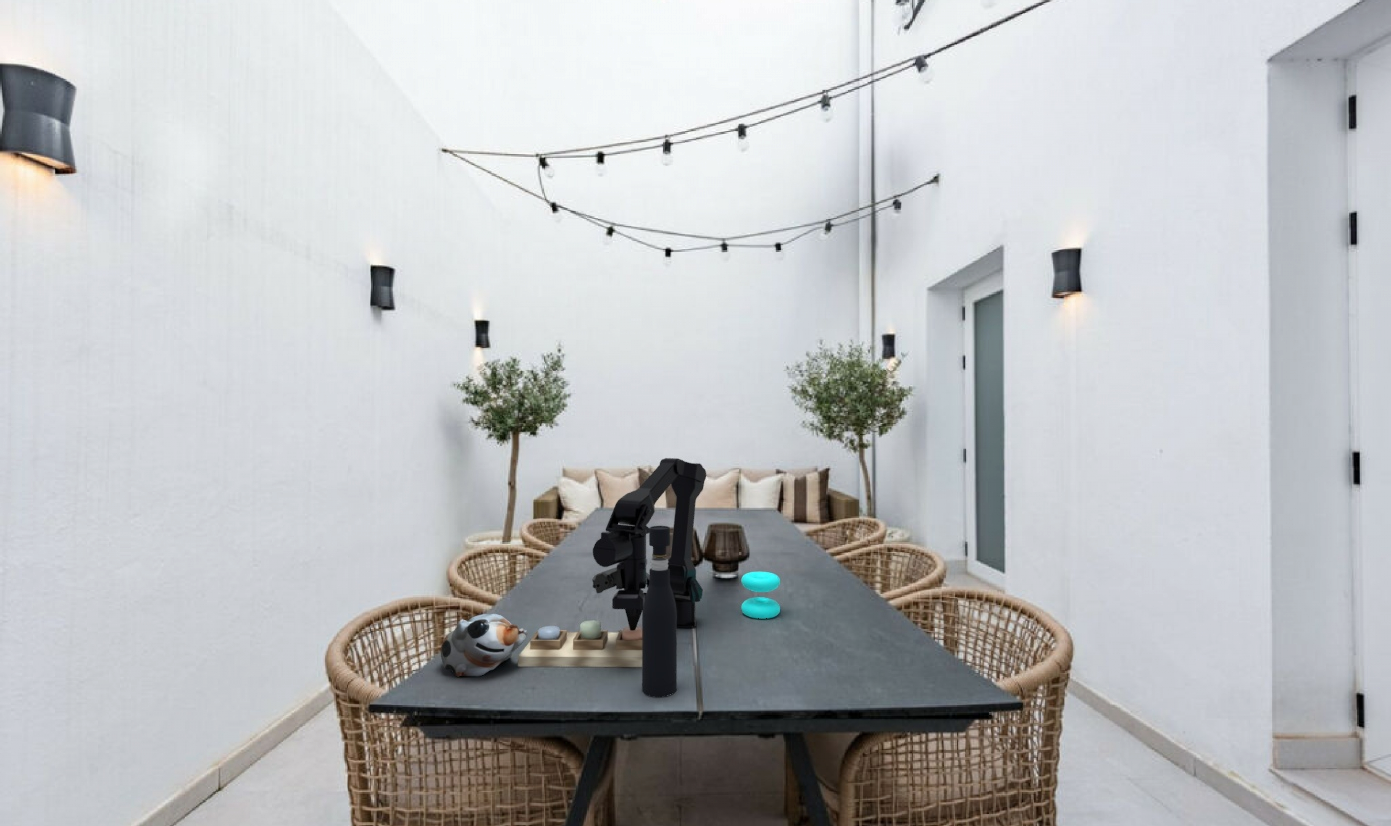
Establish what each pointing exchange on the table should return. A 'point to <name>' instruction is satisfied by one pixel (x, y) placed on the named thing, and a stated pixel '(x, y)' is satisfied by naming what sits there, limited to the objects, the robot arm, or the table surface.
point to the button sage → (590, 629)
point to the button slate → (549, 633)
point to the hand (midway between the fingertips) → (632, 629)
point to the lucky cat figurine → (480, 644)
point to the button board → (582, 651)
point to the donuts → (760, 605)
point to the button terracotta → (632, 634)
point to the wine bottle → (659, 622)
